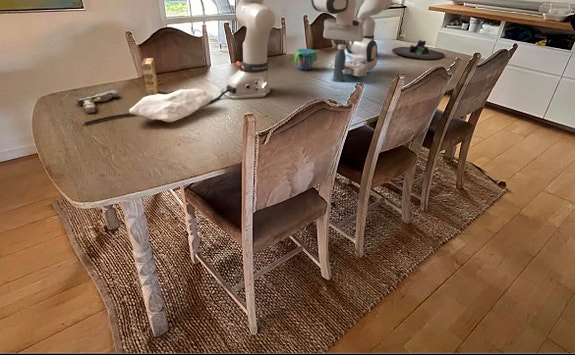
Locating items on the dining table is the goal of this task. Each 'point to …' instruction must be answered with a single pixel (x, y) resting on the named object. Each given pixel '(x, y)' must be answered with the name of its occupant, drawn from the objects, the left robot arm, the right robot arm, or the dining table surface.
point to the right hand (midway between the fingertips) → (338, 70)
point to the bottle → (339, 65)
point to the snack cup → (305, 58)
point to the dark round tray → (418, 51)
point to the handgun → (95, 100)
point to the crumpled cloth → (171, 104)
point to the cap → (341, 46)
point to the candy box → (150, 76)
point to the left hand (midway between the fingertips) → (341, 49)
